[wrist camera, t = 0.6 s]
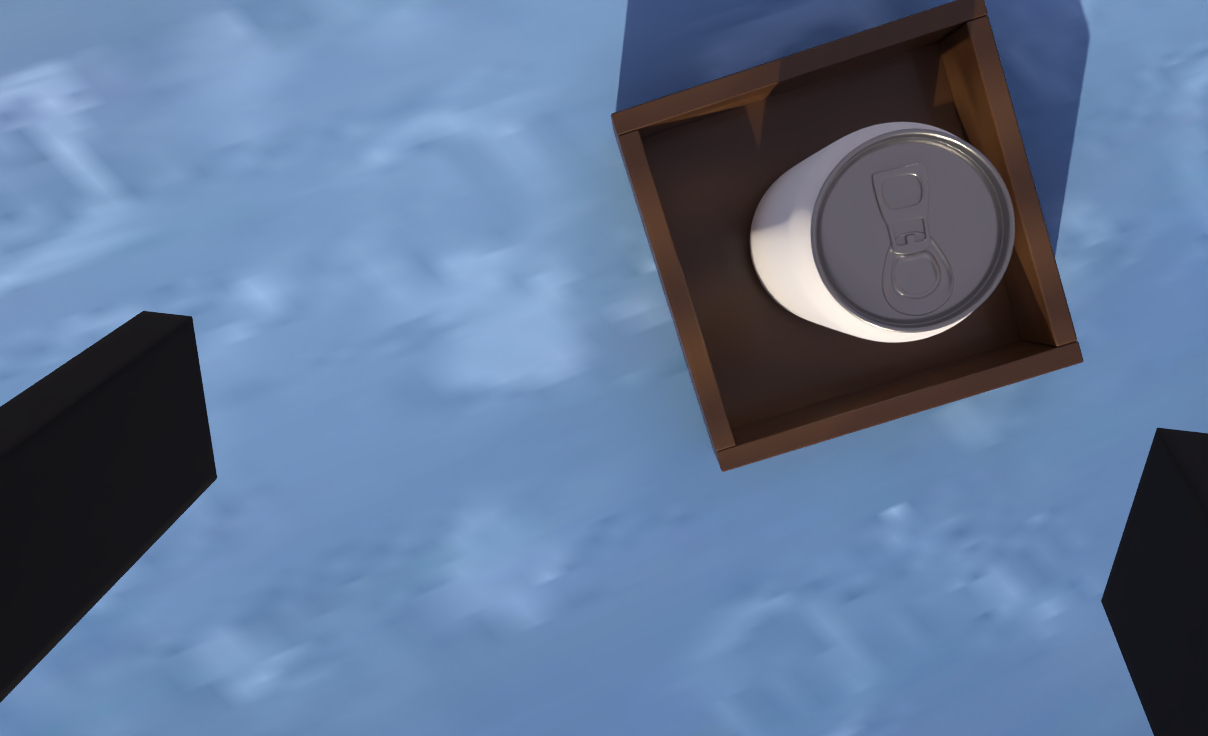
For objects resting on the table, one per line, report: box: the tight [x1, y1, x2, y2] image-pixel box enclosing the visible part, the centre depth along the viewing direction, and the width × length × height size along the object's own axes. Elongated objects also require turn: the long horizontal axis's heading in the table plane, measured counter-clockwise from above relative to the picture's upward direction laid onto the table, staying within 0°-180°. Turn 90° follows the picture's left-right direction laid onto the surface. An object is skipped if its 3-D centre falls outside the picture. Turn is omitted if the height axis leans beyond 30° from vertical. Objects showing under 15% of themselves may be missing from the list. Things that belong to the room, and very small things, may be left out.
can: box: [750, 122, 1015, 342], centre depth 34 cm, size 6×6×12 cm
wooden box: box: [611, 0, 1083, 472], centre depth 39 cm, size 14×14×4 cm
